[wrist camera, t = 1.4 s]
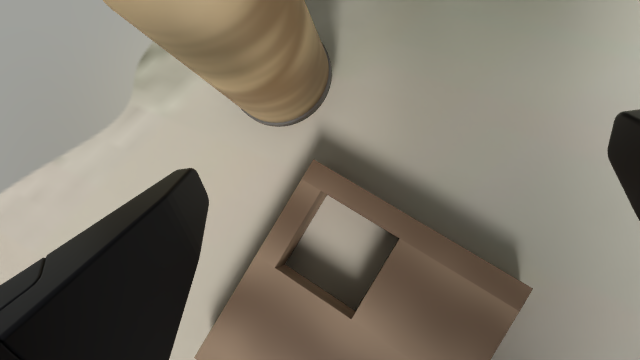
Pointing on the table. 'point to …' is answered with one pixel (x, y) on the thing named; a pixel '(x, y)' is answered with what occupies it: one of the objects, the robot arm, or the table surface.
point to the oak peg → (243, 50)
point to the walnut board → (380, 300)
